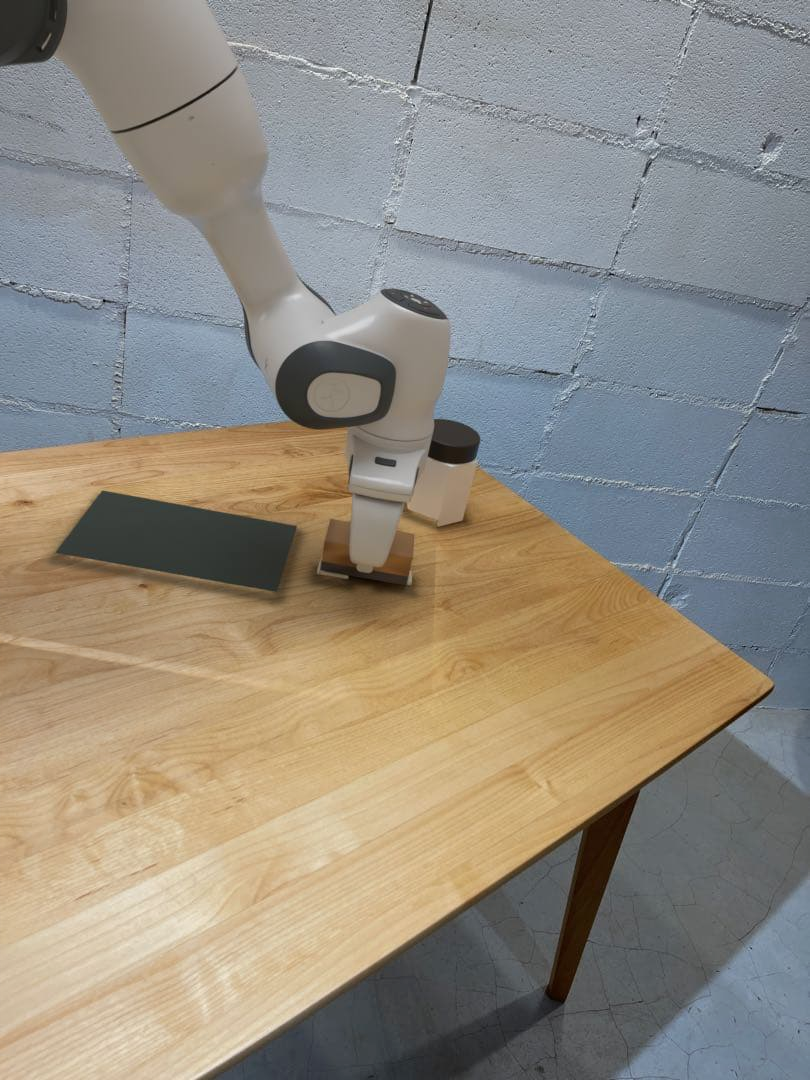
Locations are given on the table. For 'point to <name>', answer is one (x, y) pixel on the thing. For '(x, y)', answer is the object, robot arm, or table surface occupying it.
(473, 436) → the jar
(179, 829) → the table surface
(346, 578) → the white rectangular block
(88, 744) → the table surface
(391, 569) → the eraser
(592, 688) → the table surface
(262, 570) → the chalkboard
